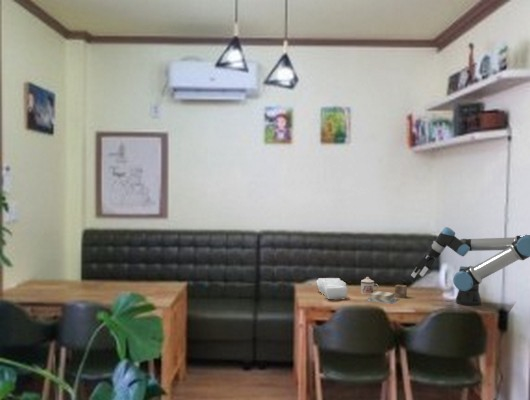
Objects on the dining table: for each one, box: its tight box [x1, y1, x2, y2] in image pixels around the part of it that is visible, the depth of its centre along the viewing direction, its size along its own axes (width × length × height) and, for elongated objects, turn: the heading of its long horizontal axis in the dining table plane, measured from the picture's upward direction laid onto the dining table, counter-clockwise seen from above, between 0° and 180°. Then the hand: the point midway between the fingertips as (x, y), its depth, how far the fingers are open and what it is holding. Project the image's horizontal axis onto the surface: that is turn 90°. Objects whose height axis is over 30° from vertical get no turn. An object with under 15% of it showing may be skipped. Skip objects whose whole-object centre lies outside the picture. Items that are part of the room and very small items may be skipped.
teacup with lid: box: [360, 276, 380, 296], centre depth 371 cm, size 12×9×12 cm
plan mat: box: [364, 297, 401, 304], centre depth 351 cm, size 18×16×1 cm
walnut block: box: [394, 284, 408, 299], centre depth 361 cm, size 6×6×8 cm
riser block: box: [369, 290, 396, 304], centre depth 351 cm, size 12×12×4 cm
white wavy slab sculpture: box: [316, 277, 348, 300], centre depth 364 cm, size 35×16×10 cm, turn 4°
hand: (416, 275), depth 351 cm, fingers open, 13 cm apart
